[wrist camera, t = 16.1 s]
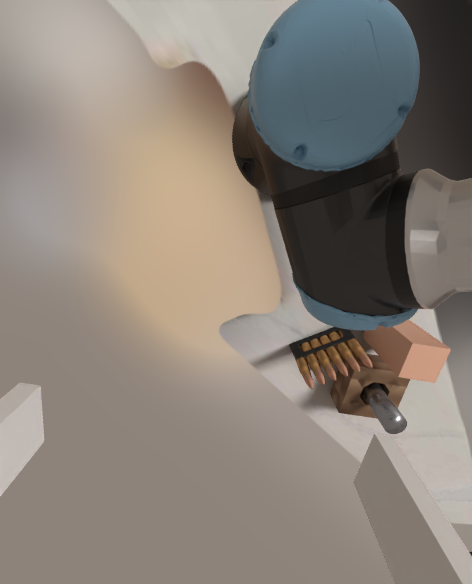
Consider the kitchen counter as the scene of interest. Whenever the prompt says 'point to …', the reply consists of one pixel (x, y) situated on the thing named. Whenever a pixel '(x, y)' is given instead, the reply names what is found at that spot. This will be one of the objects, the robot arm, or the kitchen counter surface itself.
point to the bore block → (350, 387)
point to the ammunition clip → (328, 354)
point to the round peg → (384, 409)
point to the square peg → (408, 350)
